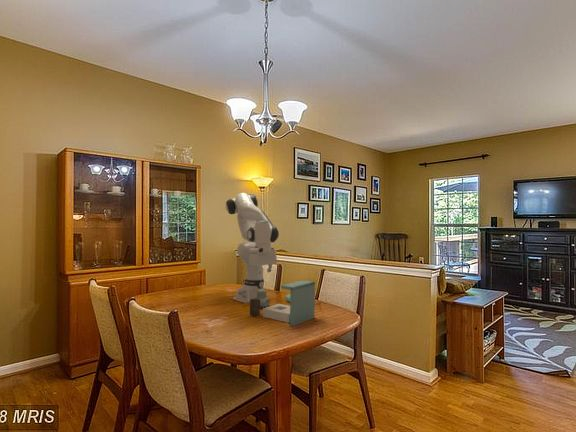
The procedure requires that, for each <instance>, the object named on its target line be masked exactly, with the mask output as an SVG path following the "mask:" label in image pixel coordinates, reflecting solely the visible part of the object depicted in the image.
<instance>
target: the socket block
mask: <svg viewBox="0 0 576 432" xmlns="http://www.w3.org/2000/svg"><path fill="white" fill-rule="evenodd" d="M262 317H263V318H267V319H271V320H275V321H280V322H284V323H289V324H290V305H286V304H282V303H276V304H274V305H270V306H269V305H268V306H267V307H265V308H262Z"/></svg>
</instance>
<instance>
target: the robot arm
mask: <svg viewBox="0 0 576 432" xmlns="http://www.w3.org/2000/svg"><path fill="white" fill-rule="evenodd" d="M258 201H259V200H258V198H257V196H256V195H255V194H253V193H249V194H247V193H246V192H240V193H238V194H236V197H233V198H229V199H227V200H226V202H225V210H226V211H227V213H228V214H229V215H235V214H237V215H236V219H237V225H238V228H239V230H240V233H241V238H243V239H244V240H246V241H245V242H244V241H243V242H241V243H239V244H238V246H237V248H236V252H237V253H236V254H237V256H238V257H239V258H240V259H241V260H242V261H243V263H244V265H245V268H246V269H245V270H246V271H245V272H246V277H245V279H244V280H243V282H244V283H243V285H242V286H240V287H239V288H238V289H237V290H236V295H235V296H233V297H232V300H234V301H238V302H241V303H244V304H250V299H254V298H256V297H257V290H265V288H264V286H265V285H264V283H265V279H264V267H263V266H268V268H267V273H271V272H272V270H273V269H272V268H273V265H274V264H277V261H278V259H277V252H276V249H275V248H274V247H273V245H272V243H275V242H276V241H277V240H278V238H279V236H280V235H279V230H278V228H277V226H275V224H273V223H272V222H271V220H270V219H269V217H268V216H267V215H266V213H265V212H264V211H263V210H261V209H260V208H258V205H259V204H258V203H259V202H258Z"/></svg>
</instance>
